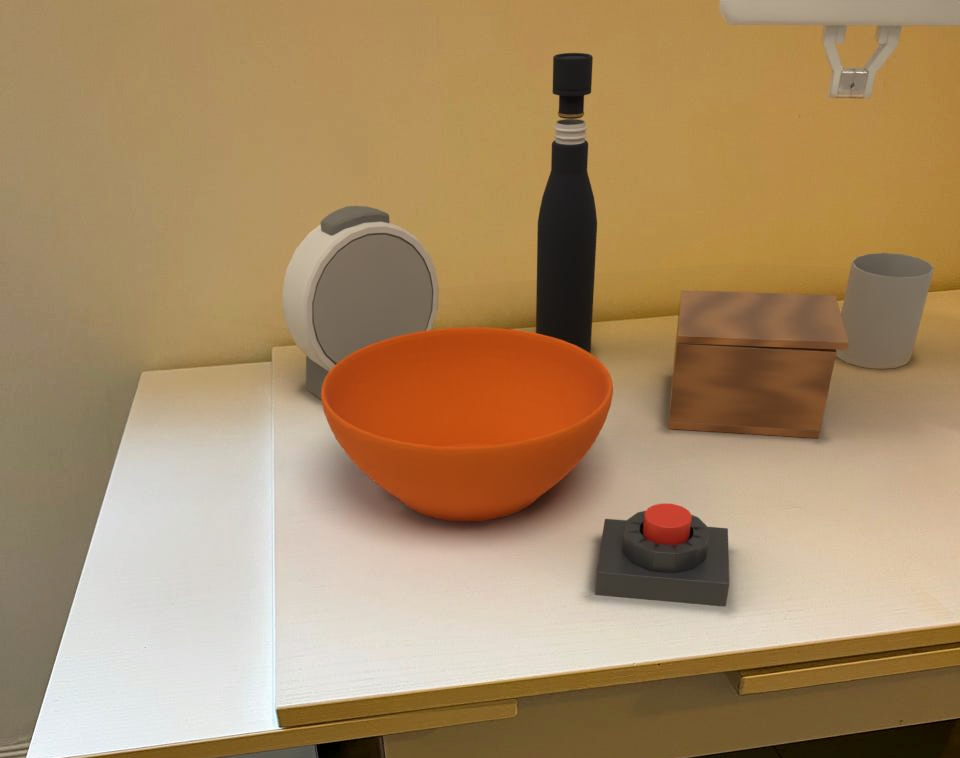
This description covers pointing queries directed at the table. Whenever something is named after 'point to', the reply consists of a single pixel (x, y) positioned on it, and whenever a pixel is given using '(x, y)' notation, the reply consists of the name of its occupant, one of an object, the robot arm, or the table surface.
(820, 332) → the box lid
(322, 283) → the alarm clock
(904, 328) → the cup
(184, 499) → the table surface
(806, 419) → the oak box
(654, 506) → the button
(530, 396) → the bowl
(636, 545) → the button block
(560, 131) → the wine bottle
